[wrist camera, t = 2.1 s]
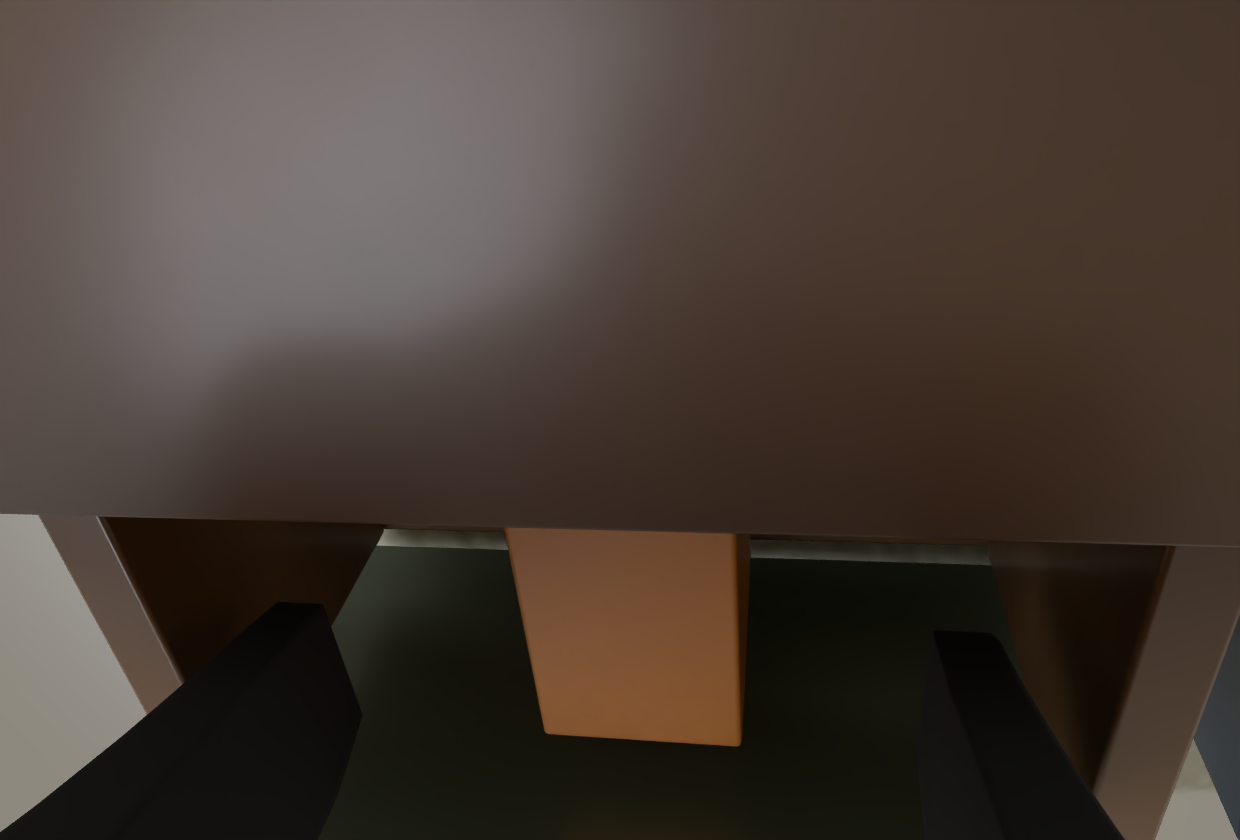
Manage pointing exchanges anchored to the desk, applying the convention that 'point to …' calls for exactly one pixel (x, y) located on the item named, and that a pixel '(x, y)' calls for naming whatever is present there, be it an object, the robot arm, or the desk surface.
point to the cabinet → (626, 265)
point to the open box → (1224, 732)
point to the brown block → (636, 631)
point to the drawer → (774, 677)
